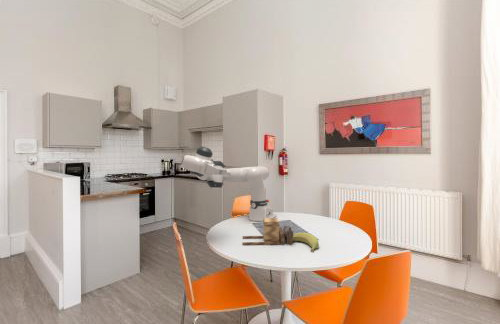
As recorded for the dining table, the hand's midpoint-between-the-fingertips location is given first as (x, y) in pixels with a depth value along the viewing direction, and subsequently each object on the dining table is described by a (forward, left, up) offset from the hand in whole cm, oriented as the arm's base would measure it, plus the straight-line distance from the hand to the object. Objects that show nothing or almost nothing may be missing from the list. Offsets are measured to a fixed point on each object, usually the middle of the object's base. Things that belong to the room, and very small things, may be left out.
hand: (230, 174), depth 150 cm
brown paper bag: (-11, +21, -37) cm, 44 cm away
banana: (-16, +38, -38) cm, 56 cm away
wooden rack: (-9, +20, -37) cm, 43 cm away
